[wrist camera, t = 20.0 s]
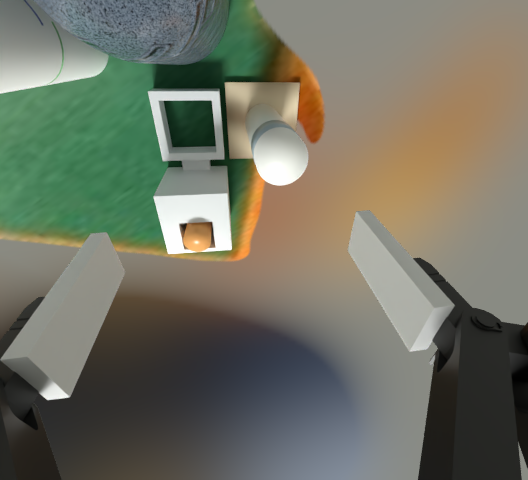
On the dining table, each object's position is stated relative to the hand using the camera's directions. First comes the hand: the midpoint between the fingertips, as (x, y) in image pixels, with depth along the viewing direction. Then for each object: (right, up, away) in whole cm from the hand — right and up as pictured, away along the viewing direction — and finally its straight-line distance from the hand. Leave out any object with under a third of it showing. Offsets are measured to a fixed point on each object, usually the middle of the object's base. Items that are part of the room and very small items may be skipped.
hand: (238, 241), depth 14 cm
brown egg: (-8, +3, +25) cm, 27 cm away
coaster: (+1, +17, +23) cm, 29 cm away
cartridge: (+1, +17, +23) cm, 28 cm away
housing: (-9, +12, +26) cm, 30 cm away
